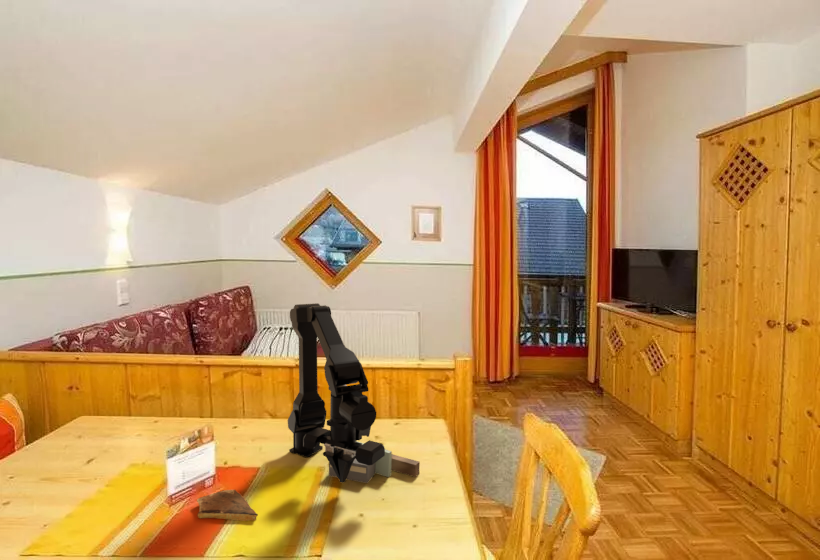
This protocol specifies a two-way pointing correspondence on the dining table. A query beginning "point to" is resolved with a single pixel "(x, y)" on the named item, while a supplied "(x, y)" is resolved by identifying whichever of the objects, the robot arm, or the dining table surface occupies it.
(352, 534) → the dining table surface
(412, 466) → the bar
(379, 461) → the door
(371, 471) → the grey block
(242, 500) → the shard
